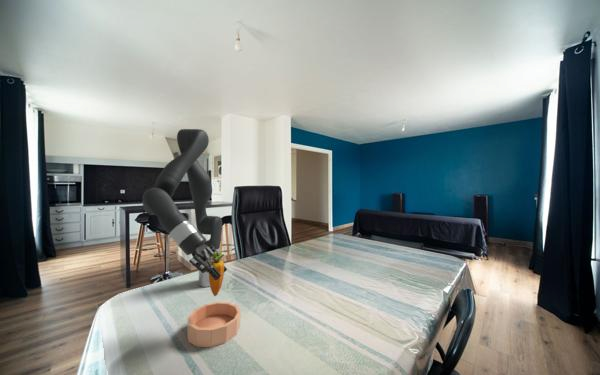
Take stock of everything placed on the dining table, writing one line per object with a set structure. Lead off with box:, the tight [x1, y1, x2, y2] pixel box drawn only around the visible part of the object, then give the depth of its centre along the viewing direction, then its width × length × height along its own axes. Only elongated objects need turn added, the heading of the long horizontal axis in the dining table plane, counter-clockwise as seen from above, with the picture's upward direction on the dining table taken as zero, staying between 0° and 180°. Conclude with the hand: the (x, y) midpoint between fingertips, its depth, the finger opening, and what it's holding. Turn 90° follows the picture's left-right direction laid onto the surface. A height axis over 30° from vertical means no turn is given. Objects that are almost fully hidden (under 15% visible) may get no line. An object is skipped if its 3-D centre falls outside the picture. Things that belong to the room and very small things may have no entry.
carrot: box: [209, 250, 225, 297], centre depth 72 cm, size 5×5×15 cm
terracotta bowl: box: [186, 301, 242, 348], centre depth 72 cm, size 16×16×5 cm
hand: (221, 274), depth 72 cm, fingers closed on carrot, 5 cm apart
